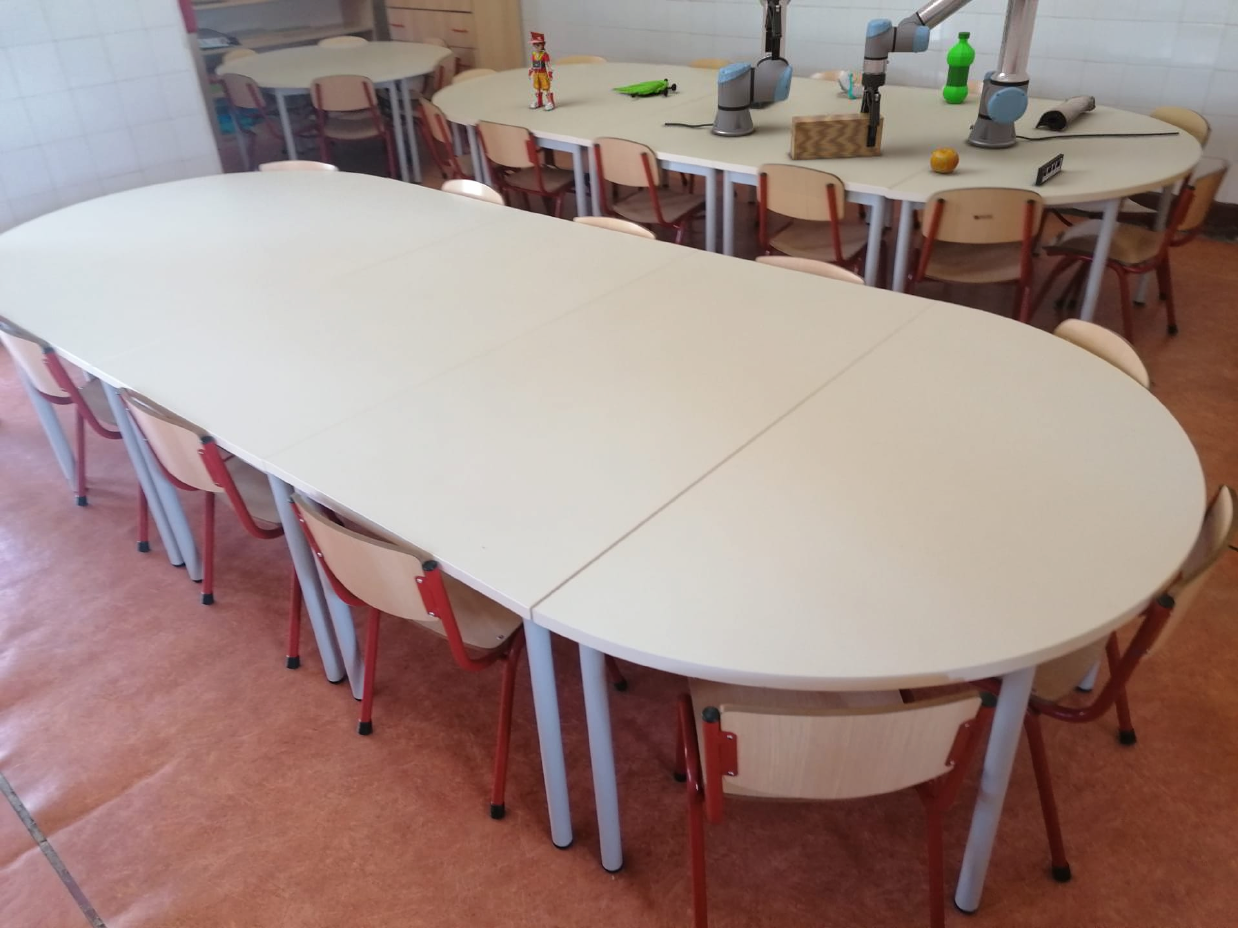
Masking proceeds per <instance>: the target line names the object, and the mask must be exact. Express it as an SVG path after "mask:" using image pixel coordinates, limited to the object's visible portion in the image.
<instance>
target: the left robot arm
mask: <svg viewBox="0 0 1238 928" xmlns="http://www.w3.org/2000/svg"><path fill="white" fill-rule="evenodd" d="M791 1H792V0H759V4H760V5H761V6H762V7H763V8H762V29H761V53H760V54H761V55H760V56H761V57H760V59H759V60H758V61H757V63H756V67H754V66H753V67H752V65H751V63H750V62H747V61H746V62H736V63H730V64H727V65H724V66H722V67H720V69H719V70H718V75H717V111H716V114H715V118H714V120H713V123H703V124H687V123H681V122H677V123H676V122H665V123H664V126H683V127H687V128H701V127H712V133H713V134H715V135H717V136H721V137H741V136H746V135H750V134H752V133H754V122H753V118H752V115H751V111H750V108H749V102H771V103H773V102H774V103H778V102H784V101H787V100H788V98H789V96H790V92H791V91H790V90H791V85H792V79H793V70H794V68H793V66H792V65H790V63H789V61H788V59H786V39H787V36H786V35H787V14H788V13H787V9H788V8H787V7H788V5H789V4H790V3H791ZM772 101H773V102H772Z"/></svg>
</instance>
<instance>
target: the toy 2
mask: <svg viewBox="0 0 1238 928" xmlns="http://www.w3.org/2000/svg"><path fill="white" fill-rule="evenodd" d="M669 85H670V83H669V79H668V78H664V79H663V80H649V81H644V82H640V83H634V84H629V85H627V86H621V87H613V88H612V89H613V90H616V91H619V92H623V93H627V94H628V93H629V94H631V95H630V96H631V98H632V99H634V98H636V96H637V95H650V94H652V93H654V94H658V93H662V95H663V96H665V97H667V96H668V95H669V90H671V91H672V92H676V91H677V84H676V83H672V84H671V86H669Z"/></svg>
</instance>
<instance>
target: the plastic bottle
mask: <svg viewBox="0 0 1238 928" xmlns="http://www.w3.org/2000/svg"><path fill="white" fill-rule="evenodd" d="M970 36H971V32H970V31H959V32H958V36H957V39H958V42H957V43H956V44H954V45H953V46H952V47H951V48H950V49H949V50H948V52H947V54H946V63H947V64H948V69H947V70H948V71H947V76H946V77H947V78H946V84H945V85H944V87H943V90H942V97H943V99H944V100H945V101H946V102H947V103H948V104H960V103H961V102H963V101H964V100H966V98H967V96H968V95H969V85H968V79H969V73H970V67H971V65H972V64H973V63H974V61H975V57H976V51H975V49H974V47H972V45H971V44H970V43H969V42H968V41H969V39H970V38H971V37H970Z"/></svg>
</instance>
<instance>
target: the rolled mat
mask: <svg viewBox="0 0 1238 928" xmlns="http://www.w3.org/2000/svg"><path fill="white" fill-rule="evenodd" d="M1096 107H1097V106H1096V98H1095V96H1094V95H1085V94H1084V95H1077V96H1071V97H1068V98H1066V99H1065V101H1064V102H1062V103H1060V104H1059V105H1056V106H1054V107H1052V108H1051V109H1049V110H1047V111H1045V112H1044V113H1043V114H1042V115H1041V116H1040V118H1039V120H1038V122H1037V124H1036V125H1035V129H1038V128H1041V127H1046V128H1048V130H1052V131H1056V132H1057V131H1058V132H1062V131H1063V130H1065V129H1066V128H1067V127H1068V126H1069V125H1070V124H1071V123H1072V122H1073V120H1075V119H1076V118H1077V117H1079V116H1080V115H1081V114H1082V113H1087V112H1092V111H1094V110H1095V109H1096Z"/></svg>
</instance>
